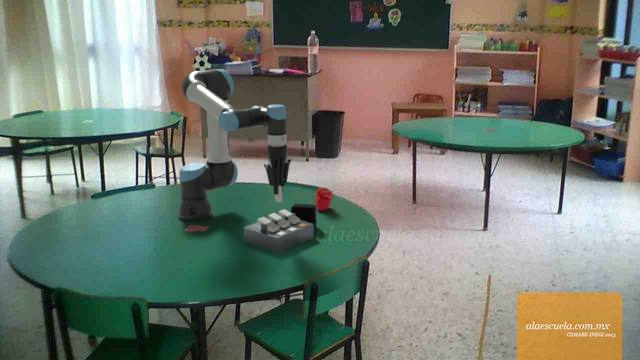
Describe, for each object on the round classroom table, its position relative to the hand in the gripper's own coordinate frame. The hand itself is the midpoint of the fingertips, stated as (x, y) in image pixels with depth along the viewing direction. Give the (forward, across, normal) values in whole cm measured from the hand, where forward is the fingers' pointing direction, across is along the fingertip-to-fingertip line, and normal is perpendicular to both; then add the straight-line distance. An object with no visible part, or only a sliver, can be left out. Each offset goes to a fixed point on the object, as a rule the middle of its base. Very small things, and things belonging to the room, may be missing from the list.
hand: (278, 201), depth 253 cm
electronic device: (+16, +15, +1) cm, 22 cm away
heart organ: (+16, +39, +11) cm, 44 cm away
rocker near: (+8, -7, -1) cm, 11 cm away
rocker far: (+8, +5, -1) cm, 9 cm away
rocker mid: (+8, -1, -1) cm, 8 cm away
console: (+16, -1, -1) cm, 16 cm away
